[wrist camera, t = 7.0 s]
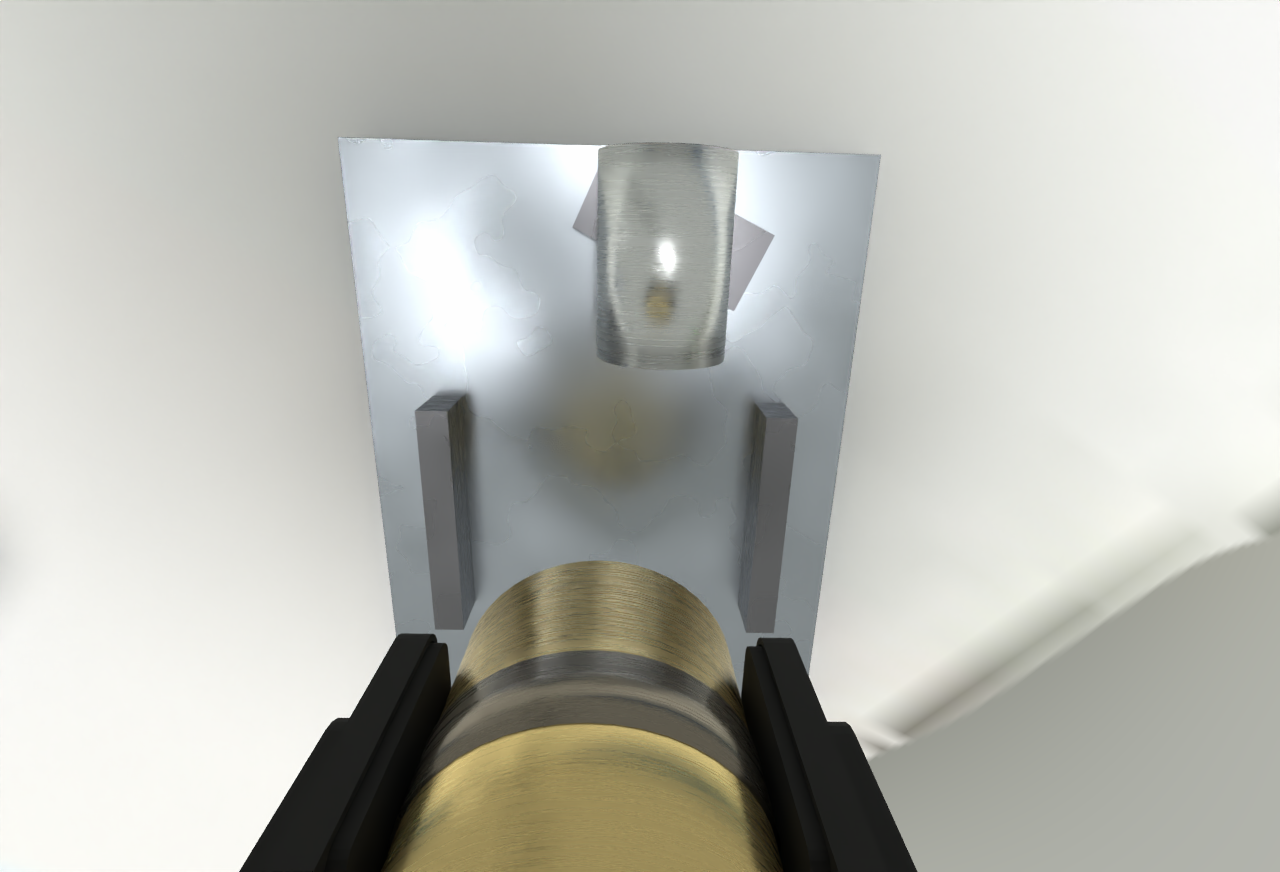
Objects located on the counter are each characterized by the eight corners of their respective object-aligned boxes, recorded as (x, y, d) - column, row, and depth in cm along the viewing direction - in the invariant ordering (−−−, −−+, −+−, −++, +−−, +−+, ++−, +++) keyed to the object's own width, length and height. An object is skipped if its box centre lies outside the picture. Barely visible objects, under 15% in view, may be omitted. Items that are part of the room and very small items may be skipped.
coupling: (452, 556, 10) (234, 961, 4) (744, 559, 10) (890, 958, 5) (470, 782, 12) (322, 1300, 6) (724, 782, 12) (814, 1287, 6)
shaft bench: (355, 142, 15) (257, 111, 11) (865, 159, 16) (948, 133, 12) (421, 739, 21) (371, 858, 17) (788, 741, 22) (825, 858, 18)
